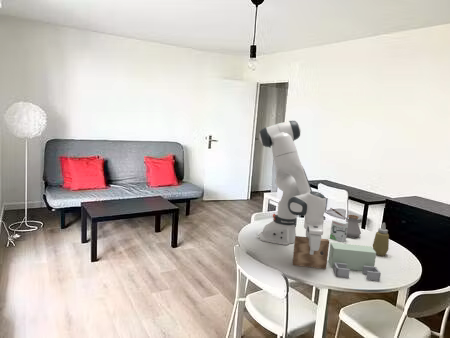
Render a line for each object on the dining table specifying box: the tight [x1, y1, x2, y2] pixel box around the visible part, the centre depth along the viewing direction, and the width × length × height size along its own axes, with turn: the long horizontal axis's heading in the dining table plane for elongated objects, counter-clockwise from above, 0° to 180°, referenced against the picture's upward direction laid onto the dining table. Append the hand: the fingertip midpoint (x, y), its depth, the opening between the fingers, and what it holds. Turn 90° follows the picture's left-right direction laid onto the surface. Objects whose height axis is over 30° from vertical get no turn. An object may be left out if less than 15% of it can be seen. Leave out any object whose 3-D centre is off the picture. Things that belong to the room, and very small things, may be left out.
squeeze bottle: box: [372, 222, 390, 257], centre depth 182 cm, size 8×8×18 cm
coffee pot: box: [329, 207, 362, 239], centre depth 212 cm, size 21×12×15 cm, turn 50°
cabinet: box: [327, 242, 382, 282], centre depth 161 cm, size 17×20×10 cm
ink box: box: [329, 218, 348, 243], centre depth 202 cm, size 9×5×12 cm, turn 48°
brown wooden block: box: [292, 235, 330, 269], centre depth 162 cm, size 16×4×14 cm, turn 84°
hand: (310, 252), depth 162 cm, fingers closed on brown wooden block, 3 cm apart
